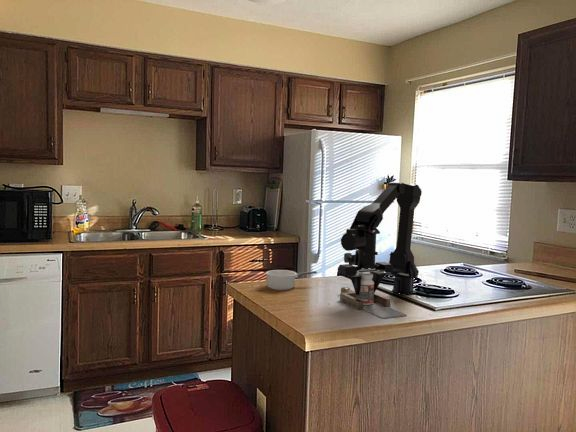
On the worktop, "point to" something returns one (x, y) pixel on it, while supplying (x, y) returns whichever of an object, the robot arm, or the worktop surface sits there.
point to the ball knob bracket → (350, 299)
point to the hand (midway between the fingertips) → (365, 294)
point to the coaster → (386, 312)
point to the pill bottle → (366, 289)
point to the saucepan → (283, 279)
